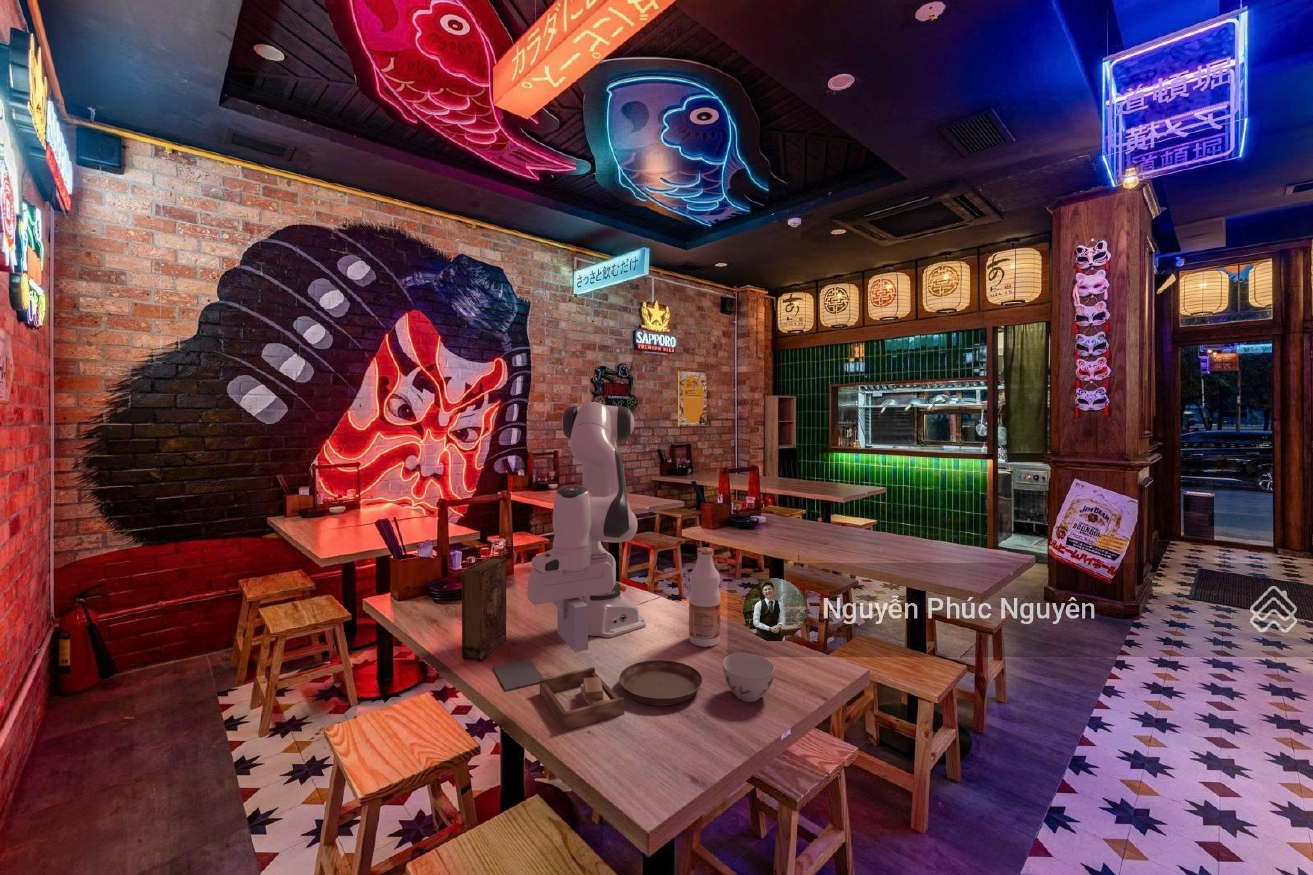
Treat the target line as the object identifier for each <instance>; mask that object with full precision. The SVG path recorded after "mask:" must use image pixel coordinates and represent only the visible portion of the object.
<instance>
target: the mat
mask: <svg viewBox="0 0 1313 875" xmlns="http://www.w3.org/2000/svg"><path fill="white" fill-rule="evenodd" d="M492 669H493V671H494V674H495V675H496V677H497V678H498V680H499V682H500V684H501V685H502V687H503V689H504V691H505V692H508V691H509V692H510V691H514V690H518V689H522V688H526V687H530V686H535V685H540V679H544V678H545V677H543V675H542V674H541V672H540V671H539V669H538V668H537V667H536V665H535V664H534V663H533V661H532V660H531V659H530V658H528V659H524V660H520V661H513V662H510V663H506V664H500V665H496V666H492Z"/></svg>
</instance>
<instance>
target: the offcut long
mask: <svg viewBox="0 0 1313 875" xmlns="http://www.w3.org/2000/svg"><path fill="white" fill-rule="evenodd" d="M580 693H581V695H582V696H583V699H585V692H584V684H581V686H580ZM608 700H610V698H609V697H608V696H607V694H606V693H605V692H604V690H603V699H602V700H592V701H586V703H587V705H588V706H590V705H593V704H597V703H601V702H604V701H608Z"/></svg>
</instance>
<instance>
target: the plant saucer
mask: <svg viewBox="0 0 1313 875" xmlns="http://www.w3.org/2000/svg"><path fill="white" fill-rule="evenodd" d="M618 680H619V684H620V686H621V687H622V689H623V690H624V691H625V692H626V693H627V694H628V695H629V697H631V698H633V699H634V700H636V701H638V702H640V703H643V704H645V705H649V706H658V707H659V706H672V705H677V704H681V703H683V702H685V701H688V700H689V699H690V698H692V697H693V696H694V695H695V694H696V693H697V692H698V691H699V690H700V688H701V686H702V684H703V680H704V679H703V676H702V674H701V672H700V671H698V670H697V668H694V667H693V666H691V665H689V664H687V663H683V662H679V661H676V660H675V661H674V660H669V659H651V660H644V661H639V662H635V663H634V664H631V665H629V666H627V667H625V668H624V669H623V670H622V671H621V673H620V674H619V677H618Z"/></svg>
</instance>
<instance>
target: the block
mask: <svg viewBox="0 0 1313 875" xmlns="http://www.w3.org/2000/svg"><path fill="white" fill-rule="evenodd" d="M560 606H561V607H562V609H566V610H567V618H565V619H560V618H559V610H558V609H557V634H558V636H560V638H561V639H562V640H563V641H564V642H565V643H566V644H567V645H568V646H569V647H570V649H571V650H572V651H573V652H575V653H578V652H583V651H587V650H589V635H588V605H587V604H586V603H585V602H583V601H582V600H581V599H580V598H573V599H567V600H563V604H562V605H560Z"/></svg>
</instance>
